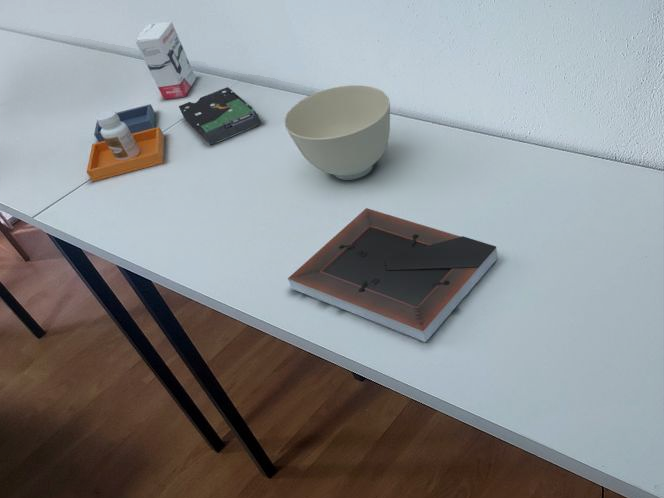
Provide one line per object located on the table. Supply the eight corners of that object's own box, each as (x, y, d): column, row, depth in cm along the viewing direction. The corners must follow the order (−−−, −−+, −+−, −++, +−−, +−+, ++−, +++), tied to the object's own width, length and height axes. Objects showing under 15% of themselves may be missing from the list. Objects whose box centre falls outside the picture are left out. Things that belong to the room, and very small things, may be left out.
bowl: (402, 190, 97) (388, 129, 89) (299, 205, 97) (277, 146, 90) (402, 136, 108) (390, 78, 100) (309, 150, 108) (290, 93, 101)
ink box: (186, 97, 129) (158, 37, 120) (162, 100, 129) (133, 40, 121) (197, 78, 135) (171, 19, 126) (174, 81, 135) (147, 23, 126)
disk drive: (183, 120, 122) (210, 146, 113) (177, 106, 120) (203, 132, 111) (233, 99, 126) (263, 124, 117) (227, 86, 124) (257, 109, 115)
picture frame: (498, 260, 83) (370, 220, 92) (496, 245, 81) (366, 206, 90) (426, 345, 74) (293, 291, 84) (422, 330, 72) (287, 277, 82)
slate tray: (99, 144, 120) (93, 134, 118) (103, 127, 124) (97, 117, 123) (154, 130, 121) (149, 120, 119) (155, 113, 126) (150, 104, 124)
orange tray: (92, 181, 110) (86, 171, 109) (98, 153, 117) (92, 143, 115) (163, 163, 112) (158, 152, 110) (164, 136, 118) (159, 126, 117)
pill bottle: (110, 160, 114) (86, 119, 108) (128, 147, 116) (106, 107, 110) (128, 163, 112) (104, 122, 106) (146, 150, 114) (123, 109, 109)
